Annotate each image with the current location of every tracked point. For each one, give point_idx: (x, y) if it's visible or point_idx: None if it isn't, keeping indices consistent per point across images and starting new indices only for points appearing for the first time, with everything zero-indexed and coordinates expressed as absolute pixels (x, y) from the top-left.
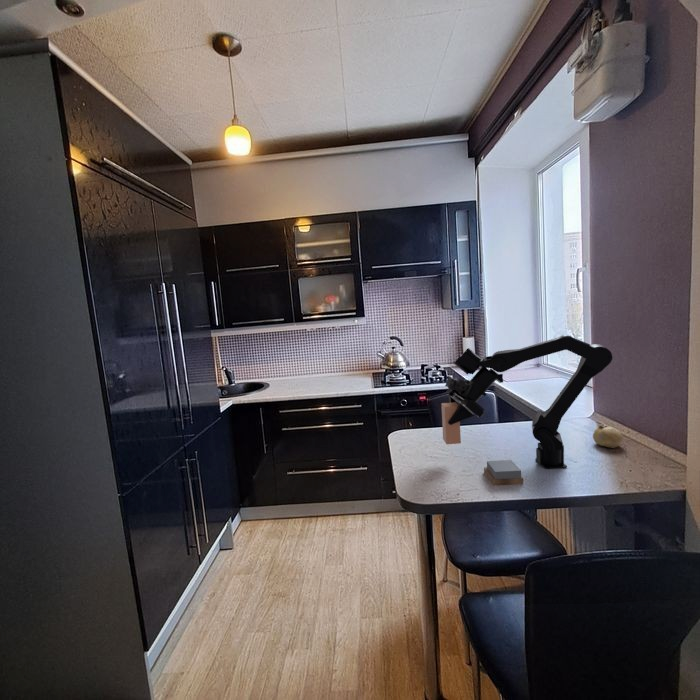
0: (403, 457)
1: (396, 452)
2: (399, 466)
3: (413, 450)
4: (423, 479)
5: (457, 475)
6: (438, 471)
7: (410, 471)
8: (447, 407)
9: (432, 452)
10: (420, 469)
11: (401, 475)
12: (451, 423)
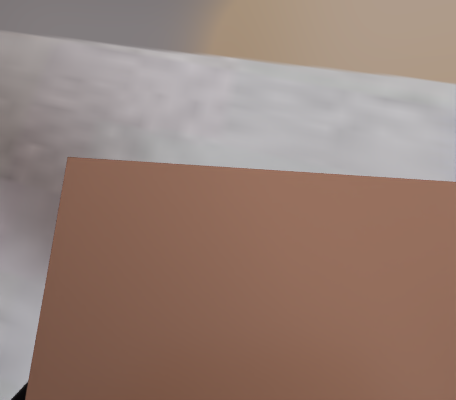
0: (313, 101)
1: (384, 80)
2: (203, 63)
3: (407, 170)
4: (21, 140)
5: (6, 335)
6: None
7: (131, 100)
8: (53, 255)
9: None
10: (142, 151)
11: (98, 53)
12: None
